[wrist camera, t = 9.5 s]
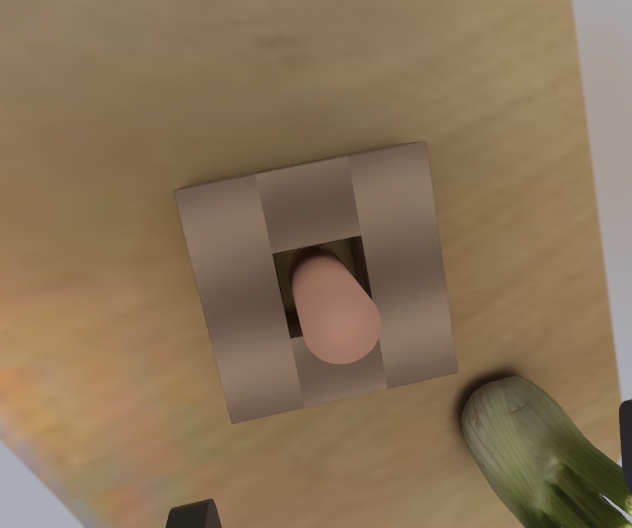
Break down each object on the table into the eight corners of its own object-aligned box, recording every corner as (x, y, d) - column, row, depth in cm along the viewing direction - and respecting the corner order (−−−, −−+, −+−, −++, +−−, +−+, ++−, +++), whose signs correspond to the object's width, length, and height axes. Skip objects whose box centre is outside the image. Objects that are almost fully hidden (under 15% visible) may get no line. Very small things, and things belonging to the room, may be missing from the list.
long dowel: (283, 250, 29) (295, 297, 19) (335, 239, 29) (374, 280, 19) (293, 301, 29) (310, 371, 20) (344, 290, 29) (386, 354, 20)
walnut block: (185, 186, 27) (173, 190, 23) (402, 143, 28) (425, 140, 24) (235, 389, 30) (231, 424, 26) (432, 345, 31) (458, 372, 27)
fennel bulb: (476, 462, 33) (597, 631, 21) (430, 412, 32) (530, 560, 20) (546, 404, 32) (708, 542, 21) (502, 351, 31) (646, 465, 20)
